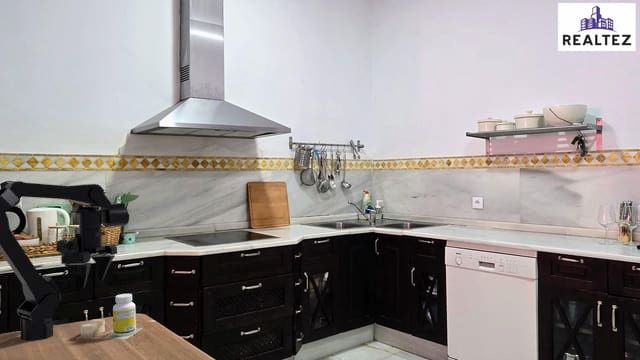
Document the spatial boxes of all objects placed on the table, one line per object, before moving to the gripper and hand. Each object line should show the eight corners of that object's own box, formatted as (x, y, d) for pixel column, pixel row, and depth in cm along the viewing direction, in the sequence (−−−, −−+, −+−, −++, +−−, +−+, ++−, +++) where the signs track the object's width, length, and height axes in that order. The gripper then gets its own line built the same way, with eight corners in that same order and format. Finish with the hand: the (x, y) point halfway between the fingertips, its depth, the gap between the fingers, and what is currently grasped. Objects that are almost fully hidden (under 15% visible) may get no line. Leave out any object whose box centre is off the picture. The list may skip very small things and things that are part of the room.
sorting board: (72, 344, 120) (72, 339, 120) (94, 331, 130) (94, 327, 130) (126, 344, 118) (126, 339, 118) (144, 331, 128) (144, 327, 128)
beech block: (92, 338, 120) (92, 326, 120) (80, 338, 120) (80, 326, 120) (104, 330, 126) (104, 319, 126) (93, 330, 126) (93, 319, 126)
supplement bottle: (117, 330, 126) (117, 293, 126) (138, 329, 126) (138, 292, 127) (110, 337, 121) (109, 298, 121) (132, 336, 121) (131, 297, 121)
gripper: (81, 226, 144) (83, 278, 144) (41, 232, 125) (42, 292, 125) (117, 225, 143) (118, 277, 143) (81, 232, 124) (83, 292, 124)
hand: (91, 284), depth 134 cm, fingers open, 9 cm apart
